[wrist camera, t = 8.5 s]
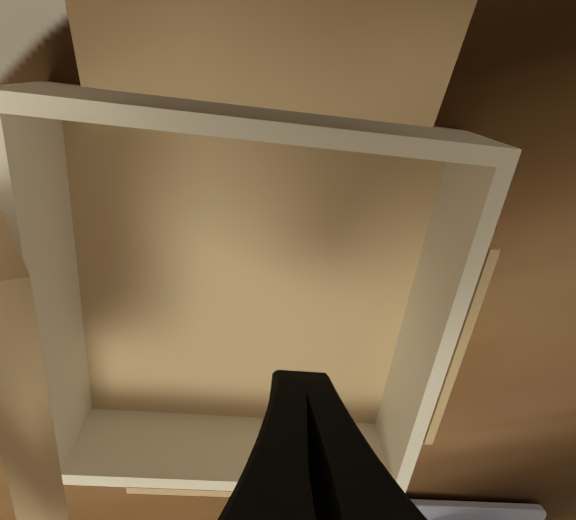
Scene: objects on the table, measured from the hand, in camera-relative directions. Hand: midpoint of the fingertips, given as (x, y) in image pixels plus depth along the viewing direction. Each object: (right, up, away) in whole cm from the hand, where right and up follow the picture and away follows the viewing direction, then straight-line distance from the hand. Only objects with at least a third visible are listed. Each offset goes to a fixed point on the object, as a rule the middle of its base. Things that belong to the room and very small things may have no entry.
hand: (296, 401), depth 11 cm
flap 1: (-7, +1, 0) cm, 7 cm away
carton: (-2, +3, +5) cm, 6 cm away
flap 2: (0, +8, -3) cm, 9 cm away
